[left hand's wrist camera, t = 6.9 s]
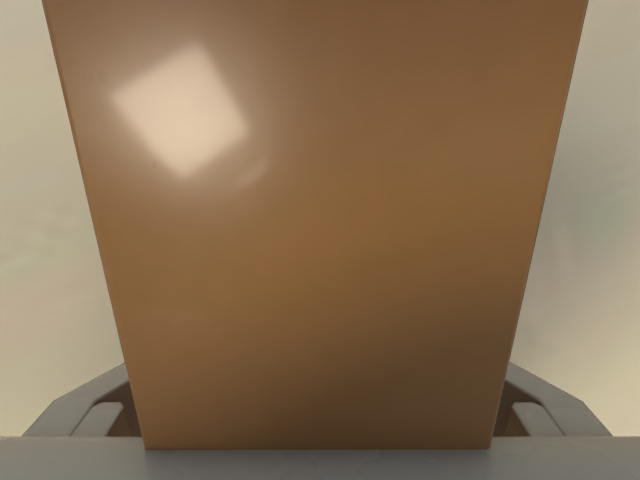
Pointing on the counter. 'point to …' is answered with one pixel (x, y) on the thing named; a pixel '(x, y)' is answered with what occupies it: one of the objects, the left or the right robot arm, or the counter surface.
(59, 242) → the counter surface
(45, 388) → the counter surface
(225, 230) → the bar
